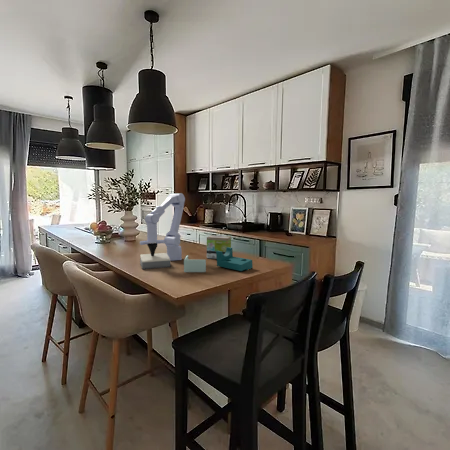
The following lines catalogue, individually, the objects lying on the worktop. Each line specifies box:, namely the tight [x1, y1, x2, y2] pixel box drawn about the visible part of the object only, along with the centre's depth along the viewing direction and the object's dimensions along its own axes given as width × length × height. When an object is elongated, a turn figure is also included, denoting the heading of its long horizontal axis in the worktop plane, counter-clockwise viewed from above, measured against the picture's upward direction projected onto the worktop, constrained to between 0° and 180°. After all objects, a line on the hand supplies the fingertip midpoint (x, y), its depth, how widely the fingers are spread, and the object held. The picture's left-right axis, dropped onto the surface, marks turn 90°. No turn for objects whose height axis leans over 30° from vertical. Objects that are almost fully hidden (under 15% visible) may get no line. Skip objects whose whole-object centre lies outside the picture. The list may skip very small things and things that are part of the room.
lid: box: [139, 252, 170, 262], centre depth 170 cm, size 16×14×1 cm
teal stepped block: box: [216, 247, 254, 272], centre depth 165 cm, size 18×11×10 cm, turn 50°
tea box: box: [206, 235, 232, 260], centre depth 193 cm, size 15×10×15 cm
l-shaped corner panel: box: [183, 255, 207, 273], centre depth 162 cm, size 12×12×8 cm
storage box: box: [139, 257, 171, 270], centre depth 170 cm, size 16×14×4 cm
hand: (152, 255), depth 172 cm, fingers closed, pressing on lid
